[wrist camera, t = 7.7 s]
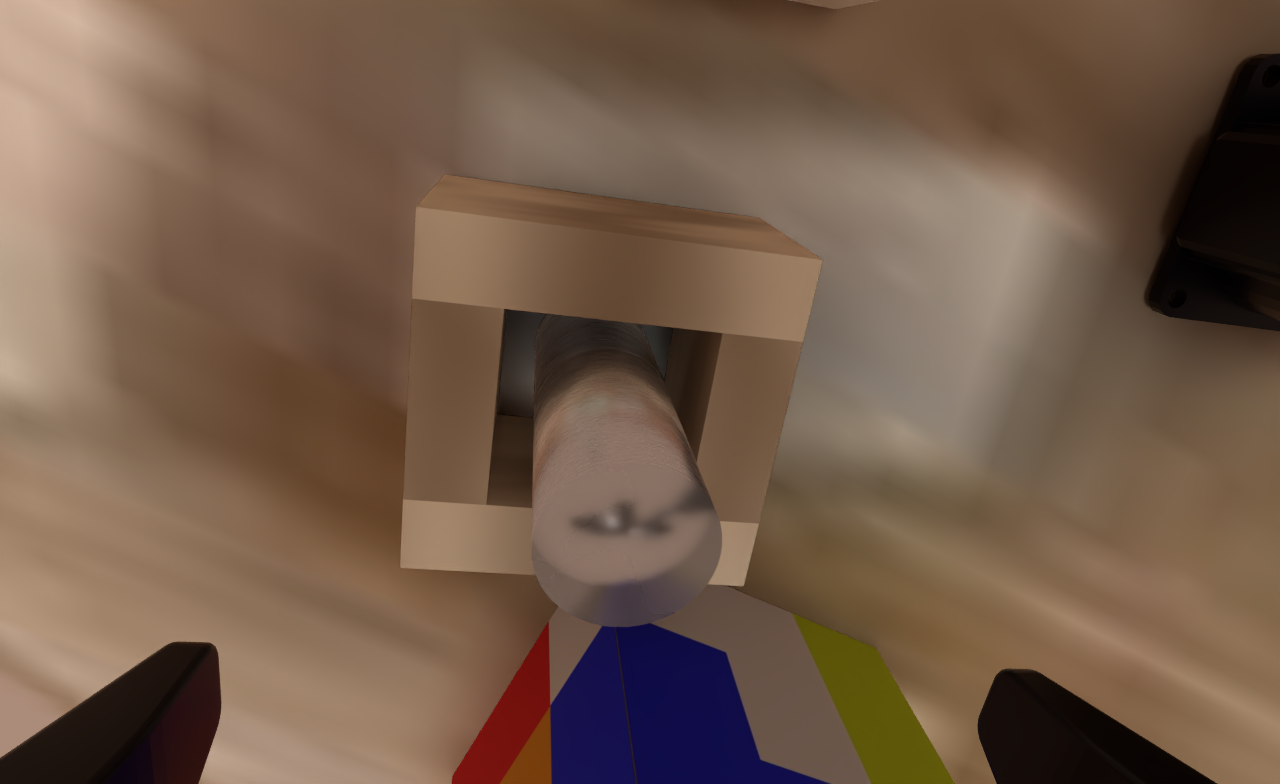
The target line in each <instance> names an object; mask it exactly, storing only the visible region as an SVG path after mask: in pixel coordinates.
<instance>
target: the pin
mask: <svg viewBox="0 0 1280 784" xmlns="http://www.w3.org/2000/svg"><path fill="white" fill-rule="evenodd" d="M721 549H722V530H721V524H720V521H719V518H718V514H717V512H716V509H715V507H714V504H713V502H712V499H711V497H710V495H709V492H708V490H707V487H706V485H705V482H704V480H703V477H702V475H701V472H700V470H699V467H698V465H697V462H696V460H695V457H694V455H693V452H692V450H691V447H690V445H689V442H688V440H687V438H686V435H685V433H684V430H683V428H682V425H681V423H680V420H679V418H678V415H677V413H676V410H675V408H674V405H673V403H672V400H671V398H670V395H669V393H668V390H667V388H666V386H665V383H664V381H663V378H662V376H661V373H660V371H659V368H658V366H657V363H656V361H655V358H654V356H653V353H652V351H651V348H650V346H649V343H648V341H647V338H646V336H645V333H644V331H643V329H642V326H641V324H637V323H628V322H619V321H610V320H601V319H592V318H583V317H574V316H565V315H556V314H547V315H546V316H545V317H544V319H543V320H542V322H541V324H540V326H539V328H538V331H537V334H536V339H535V370H534V430H533V490H532V550H531V555H532V564H533V568H534V572H535V575H536V577H537V580H538V582H539V584H540V586H541V587H542V589H543V590H544V592H545V593H546V595H547V596H548V597H549V598H550V599H551V600H552V601H553V602H554V603H555V604H556V605H557V606H558V607H560V608H561V609H562V610H564V611H565V612H567V613H568V614H570V615H572V616H574V617H576V618H578V619H580V620H583V621H586V622H589V623H592V624H597V625H601V626H609V627H631V626H639V625H643V624H648V623H652V622H655V621H658V620H661V619H663V618H665V617H667V616H670V615H672V614H674V613H675V612H677V611H679V610H680V609H682V608H683V607H685V606H686V605H687V604H689V603H690V602H691V601H692V600H694V599H695V598H696V597H697V596H698V595H699V594H700V593H701V591H702V590H703V589H704V588H705V587H706V585H707V584H708V582H709V581H710V579H711V578H712V576H713V574H714V572H715V570H716V568H717V566H718V562H719V559H720V556H721Z"/></svg>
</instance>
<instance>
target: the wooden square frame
mask: <svg viewBox="0 0 1280 784" xmlns="http://www.w3.org/2000/svg"><path fill="white" fill-rule="evenodd" d="M822 262H823V260H822V259H821V258H819V257H818V256H816V255H815V254H813V253H812V252H810V251H809V250H807V249H806V248H804V247H803V246H801V245H800V244H798V243H797V242H795V241H794V240H792V239H791V238H789V237H788V236H786V235H785V234H783V233H782V232H780V231H779V230H777V229H776V228H774V227H773V226H771V225H770V224H768V223H767V222H765V221H764V220H762V219H761V218H755V217H747V216H740V215H733V214H726V213H719V212H711V211H704V210H697V209H690V208H683V207H675V206H668V205H661V204H654V203H647V202H639V201H632V200H625V199H618V198H611V197H603V196H596V195H589V194H582V193H575V192H567V191H560V190H553V189H546V188H539V187H531V186H524V185H517V184H510V183H503V182H495V181H488V180H481V179H474V178H467V177H459V176H452V175H444V176H443V177H442V178H441V180H440V181H439V182H438V183H437V184H436V185H435V186H434V187H433V188H432V190H431V191H430V192H429V193H428V194H427V195H426V196H425V197H424V199H423V200H422V201H421V202H420V203H419V204H418V205H417V206H416V219H415V242H414V264H413V287H412V310H411V333H410V355H409V378H408V401H407V423H406V446H405V469H404V491H403V514H402V537H401V559H400V568H412V569H431V570H449V571H468V572H487V573H506V574H524V575H535V572H534V568H533V564H532V555H531V550H532V490H533V430H534V418H528V417H517V416H506V415H497V412H498V401H499V390H500V379H501V368H502V357H503V346H504V335H505V324H506V313H507V309H511V310H520V311H529V312H538V313H547V314H556V315H565V316H574V317H583V318H592V319H601V320H610V321H619V322H628V323H637V324H646V325H655V326H664V327H673V328H674V329H673V335H672V341H671V346H670V352H669V358H668V363H667V369H666V375H665V380H664V383H665V386H666V388H667V390H668V393H669V395H670V398H671V400H672V403H673V405H674V408H675V410H676V413H677V415H678V418H679V420H680V423H681V425H682V428H683V430H684V433H685V435H686V438H687V440H688V442H689V445H690V447H691V450H692V452H693V455H694V457H695V460H696V462H697V465H698V467H699V470H700V472H701V475H702V477H703V480H704V482H705V485H706V487H707V490H708V492H709V495H710V497H711V499H712V502H713V504H714V507H715V509H716V512H717V514H718V518H719V521H720V524H721V530H722V549H721V556H720V559H719V562H718V566H717V568H716V570H715V572H714V574H713V576H712V578H711V579H710V581H709V582H708V584H711V585H730V586H744V583H745V579H746V575H747V571H748V567H749V563H750V558H751V554H752V550H753V546H754V542H755V538H756V534H757V530H758V525H759V521H760V517H761V513H762V509H763V505H764V501H765V497H766V493H767V488H768V484H769V480H770V476H771V472H772V468H773V464H774V460H775V456H776V451H777V447H778V443H779V439H780V435H781V431H782V427H783V423H784V418H785V414H786V410H787V406H788V402H789V398H790V394H791V390H792V386H793V381H794V377H795V373H796V369H797V365H798V361H799V357H800V353H801V349H802V344H803V340H804V336H805V332H806V328H807V324H808V320H809V316H810V312H811V307H812V303H813V299H814V295H815V291H816V287H817V283H818V279H819V274H820V270H821V266H822Z"/></svg>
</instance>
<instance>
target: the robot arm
mask: <svg viewBox="0 0 1280 784" xmlns="http://www.w3.org/2000/svg"><path fill="white" fill-rule="evenodd" d="M1266 69H1267V72H1268V73H1267V78H1266V79H1265V81H1264V83H1263V84H1262V81H1261V80H1262V75H1263V73H1264V72H1265V70H1266ZM1173 292H1175V296H1174V298H1173V299H1172V300H1171V301H1170V302H1169V297H1170V296H1171V294H1172V293H1173ZM1149 305H1150V307H1151V308H1152V309H1153V311H1156V312H1159V313H1161V314H1164V315H1166V316H1169V317H1174V318H1182V319H1190V320H1198V321H1206V322H1213V323H1221V324H1229V325H1237V326H1245V327H1252V328H1260V329H1268V330H1276V331H1280V54H1259V55H1257V56H1255V57H1253V58H1251V59H1250V60H1249V61H1248V62H1247V63H1246V64H1245V65H1244V67H1243V69H1242V70H1241V72H1240V74H1239V76H1238V79H1237V81H1236V84H1235V86H1234V89H1233V91H1232V94H1231V96H1230V98H1229V101H1228V103H1227V106H1226V108H1225V111H1224V113H1223V116H1222V118H1221V121H1220V123H1219V125H1218V128H1217V130H1216V133H1215V135H1214V138H1213V140H1212V143H1211V145H1210V147H1209V150H1208V152H1207V155H1206V157H1205V160H1204V162H1203V165H1202V167H1201V169H1200V172H1199V174H1198V177H1197V179H1196V182H1195V184H1194V187H1193V189H1192V192H1191V194H1190V196H1189V199H1188V201H1187V204H1186V206H1185V209H1184V211H1183V214H1182V216H1181V218H1180V221H1179V223H1178V226H1177V228H1176V231H1175V233H1174V236H1173V238H1172V240H1171V243H1170V245H1169V248H1168V250H1167V253H1166V255H1165V258H1164V260H1163V263H1162V265H1161V267H1160V270H1159V272H1158V275H1157V277H1156V280H1155V282H1154V285H1153V287H1152V289H1151V292H1150V296H1149ZM220 714H221V689H220V673H219V657H218V652H217V649H216V647H215V646H214V645H213V644H211V643H207V642H173V643H170V644H168V645H166V646H164V647H163V648H161V649H160V650H158V651H157V652H155V653H154V654H152V655H151V656H149V657H148V658H147V659H145V660H144V661H142V662H141V663H139V664H138V665H136V666H135V667H133V668H132V669H130V670H129V671H127V672H126V673H124V674H123V675H122V676H120V677H119V678H117V679H116V680H114V681H113V682H111V683H110V684H108V685H107V686H105V687H104V688H102V689H101V690H99V691H98V692H97V693H95V694H94V695H92V696H91V697H89V698H88V699H86V700H85V701H83V702H82V703H80V704H79V705H77V706H76V707H74V708H73V709H72V710H70V711H69V712H67V713H66V714H64V715H63V716H61V717H60V718H58V719H57V720H55V721H54V722H52V723H51V724H49V725H48V726H47V727H45V728H44V729H42V730H41V731H39V732H38V733H36V734H35V735H34V736H32V737H30V738H29V739H27V740H26V741H24V742H23V743H22V744H20V745H19V746H17V747H16V748H14V749H13V750H11V751H10V752H8V753H7V754H5V755H4V756H2V757H1V758H0V784H198V783H199V780H200V777H201V775H202V772H203V769H204V766H205V763H206V760H207V757H208V754H209V751H210V748H211V745H212V742H213V739H214V737H215V734H216V731H217V727H218V724H219V719H220ZM978 734H979V739H980V742H981V744H982V747H983V750H984V752H985V755H986V757H987V760H988V762H989V765H990V767H991V770H992V773H993V775H994V778H995V780H996V783H997V784H1217V783H1215V782H1214V781H1212V780H1211V779H1209V778H1207V777H1206V776H1204V775H1203V774H1201V773H1199V772H1198V771H1196V770H1195V769H1193V768H1191V767H1190V766H1188V765H1187V764H1185V763H1183V762H1182V761H1180V760H1179V759H1177V758H1175V757H1174V756H1172V755H1171V754H1169V753H1167V752H1166V751H1164V750H1163V749H1161V748H1159V747H1158V746H1156V745H1155V744H1153V743H1151V742H1150V741H1148V740H1147V739H1145V738H1143V737H1142V736H1140V735H1139V734H1137V733H1135V732H1134V731H1132V730H1131V729H1129V728H1127V727H1126V726H1124V725H1123V724H1121V723H1119V722H1118V721H1116V720H1115V719H1113V718H1111V717H1110V716H1108V715H1107V714H1105V713H1103V712H1102V711H1100V710H1099V709H1097V708H1095V707H1094V706H1092V705H1091V704H1089V703H1087V702H1086V701H1084V700H1083V699H1081V698H1079V697H1078V696H1076V695H1075V694H1073V693H1071V692H1070V691H1068V690H1067V689H1065V688H1063V687H1062V686H1060V685H1059V684H1057V683H1055V682H1054V681H1052V680H1051V679H1049V678H1047V677H1046V676H1044V675H1042V674H1041V673H1039V672H1037V671H1034V670H1030V669H1003V670H1001V671H1000V672H999V673H998V674H997V675H996V676H995V678H994V681H993V683H992V686H991V688H990V691H989V693H988V696H987V698H986V700H985V703H984V705H983V708H982V710H981V713H980V715H979V718H978Z"/></svg>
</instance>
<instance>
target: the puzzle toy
mask: <svg viewBox="0 0 1280 784" xmlns="http://www.w3.org/2000/svg"><path fill="white" fill-rule="evenodd" d="M452 784H955V783H954V781H953V780H952V778H951V776H950V775H949V773H948V771H947V769H946V768H945V766H944V764H943V762H942V761H941V759H940V757H939V756H938V754H937V752H936V750H935V749H934V747H933V745H932V744H931V742H930V740H929V738H928V737H927V735H926V733H925V732H924V730H923V728H922V726H921V725H920V723H919V721H918V720H917V718H916V716H915V714H914V713H913V711H912V709H911V707H910V706H909V704H908V702H907V701H906V699H905V697H904V695H903V694H902V692H901V690H900V689H899V687H898V685H897V683H896V682H895V680H894V678H893V677H892V675H891V673H890V671H889V670H888V668H887V666H886V664H885V663H884V661H883V659H882V658H881V656H880V654H879V652H878V651H877V649H876V648H875V647H872V646H870V645H867V644H865V643H863V642H860V641H858V640H855V639H853V638H851V637H848V636H846V635H843V634H841V633H839V632H836V631H834V630H831V629H829V628H826V627H824V626H822V625H819V624H817V623H814V622H812V621H810V620H807V619H805V618H802V617H800V616H798V615H795V614H793V613H790V612H788V611H786V610H783V609H781V608H778V607H776V606H774V605H771V604H769V603H766V602H764V601H761V600H759V599H757V598H754V597H752V596H749V595H747V594H745V593H742V592H740V591H737V590H735V589H733V588H730V587H728V586H725V585H711V584H707V585H706V587H705V588H704V589H703V590H702V591H701V593H700V594H699V595H698V596H697V597H696V598H695V599H694V600H692V601H691V602H690V603H689V604H687V605H686V606H685V607H683V608H682V609H680V610H679V611H677V612H675V613H674V614H672V615H670V616H667V617H665V618H663V619H661V620H658V621H655V622H652V623H648V624H643V625H639V626H631V627H609V626H601V625H597V624H592V623H589V622H586V621H583V620H580V619H578V618H576V617H574V616H572V615H570V614H568V613H567V612H565V611H564V610H562V609H561V608H560V607H557V609H556V611H555V612H554V614H553V615H552V617H551V619H550V620H549V622H548V623H547V625H546V627H545V628H544V630H543V632H542V633H541V635H540V636H539V638H538V640H537V641H536V643H535V644H534V646H533V648H532V649H531V651H530V652H529V654H528V656H527V657H526V659H525V660H524V662H523V664H522V665H521V667H520V669H519V670H518V672H517V673H516V675H515V677H514V678H513V680H512V681H511V683H510V685H509V686H508V688H507V689H506V691H505V693H504V694H503V696H502V697H501V699H500V701H499V702H498V704H497V706H496V707H495V709H494V710H493V712H492V714H491V715H490V717H489V718H488V720H487V722H486V723H485V725H484V726H483V728H482V730H481V731H480V733H479V734H478V736H477V738H476V739H475V741H474V743H473V744H472V746H471V747H470V749H469V751H468V752H467V754H466V755H465V757H464V759H463V760H462V762H461V763H460V765H459V767H458V768H457V770H456V771H455V773H454V775H453V777H452Z"/></svg>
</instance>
